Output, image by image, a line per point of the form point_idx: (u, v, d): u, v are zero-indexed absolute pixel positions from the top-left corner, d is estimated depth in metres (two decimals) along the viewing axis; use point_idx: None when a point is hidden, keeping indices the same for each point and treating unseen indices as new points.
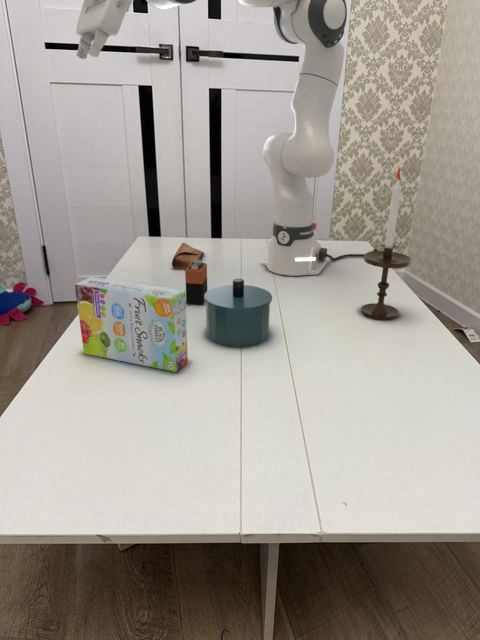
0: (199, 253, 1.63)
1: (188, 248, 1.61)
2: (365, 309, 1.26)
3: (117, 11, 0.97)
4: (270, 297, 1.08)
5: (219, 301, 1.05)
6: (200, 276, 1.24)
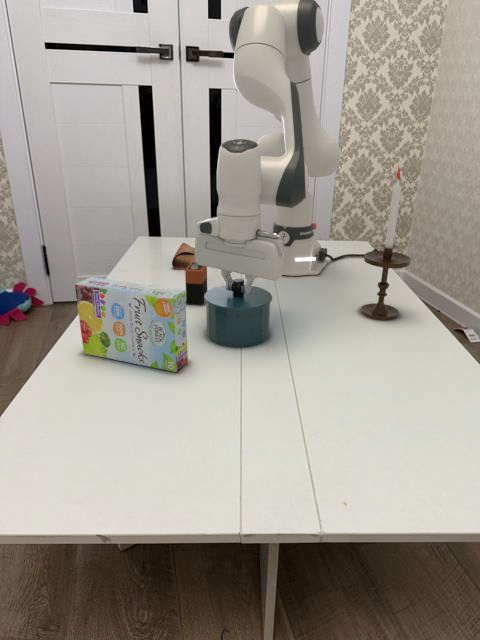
0: None
1: (188, 248, 1.61)
2: (365, 309, 1.26)
3: (281, 260, 1.00)
4: (270, 297, 1.08)
5: (219, 301, 1.05)
6: (200, 276, 1.24)
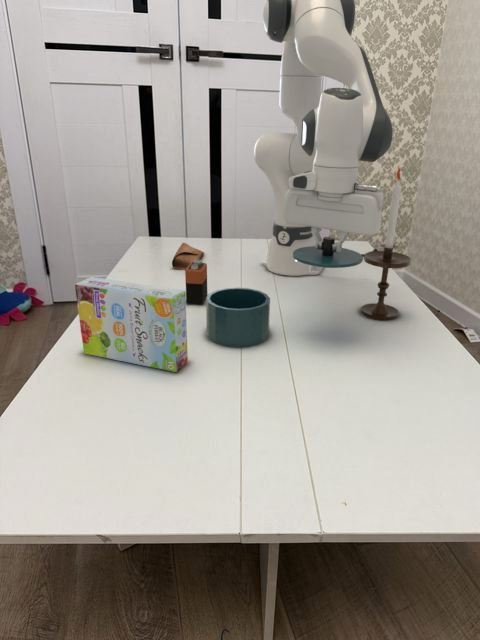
0: (199, 253, 1.63)
1: (188, 248, 1.61)
2: (365, 309, 1.26)
3: (379, 214, 0.97)
4: (361, 256, 1.05)
5: (311, 259, 1.01)
6: (200, 276, 1.24)
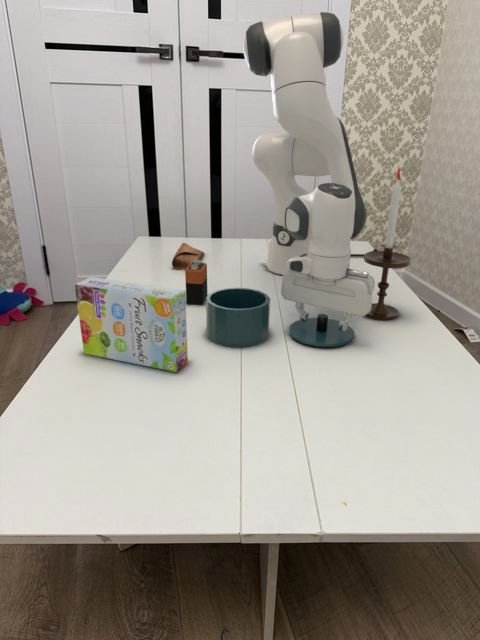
0: (199, 253, 1.63)
1: (188, 248, 1.61)
2: None
3: (370, 297, 1.05)
4: (352, 332, 1.12)
5: (305, 337, 1.09)
6: (200, 276, 1.24)
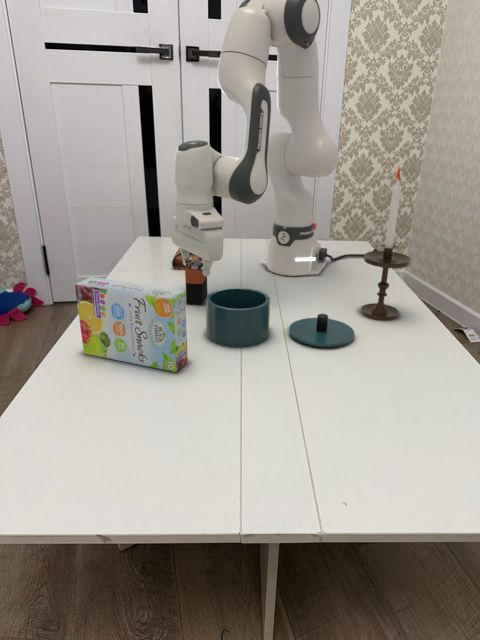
0: None
1: None
2: (365, 309, 1.26)
3: None
4: (352, 332, 1.12)
5: (305, 337, 1.09)
6: (200, 276, 1.24)
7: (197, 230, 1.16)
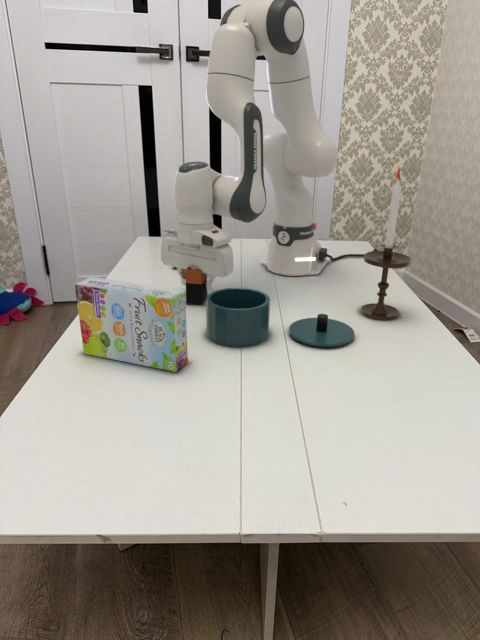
0: None
1: None
2: (365, 309, 1.26)
3: None
4: (352, 332, 1.12)
5: (305, 337, 1.09)
6: (200, 276, 1.24)
7: (209, 248, 1.19)
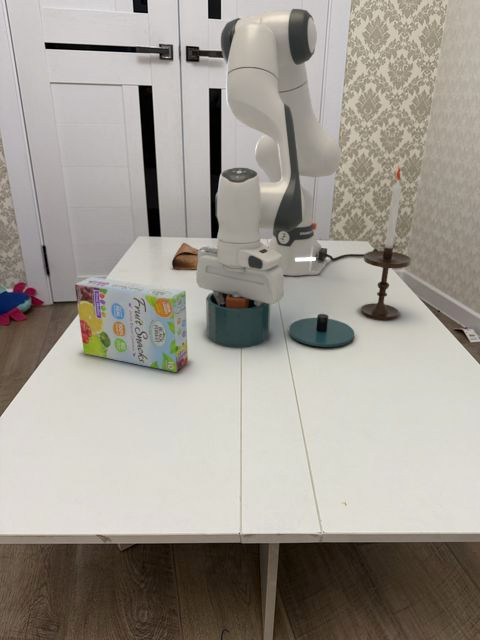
0: None
1: (189, 248, 1.61)
2: (365, 309, 1.26)
3: None
4: (352, 332, 1.12)
5: (305, 337, 1.09)
6: (243, 305, 1.06)
7: (257, 271, 1.00)
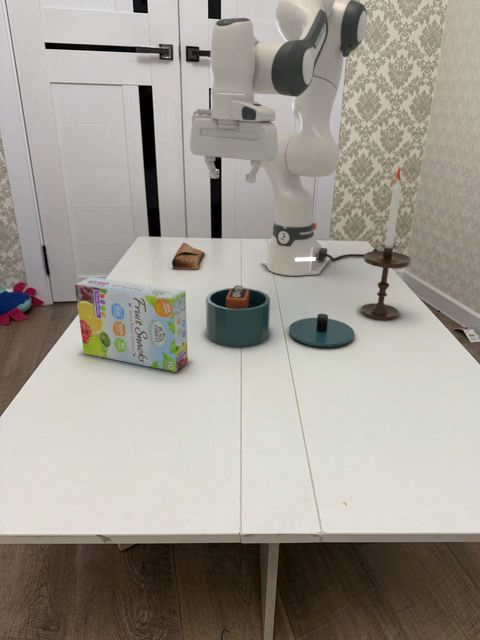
0: (199, 253, 1.63)
1: (189, 248, 1.61)
2: (365, 309, 1.26)
3: None
4: (352, 332, 1.12)
5: (305, 337, 1.09)
6: (243, 305, 1.06)
7: (251, 124, 1.00)
